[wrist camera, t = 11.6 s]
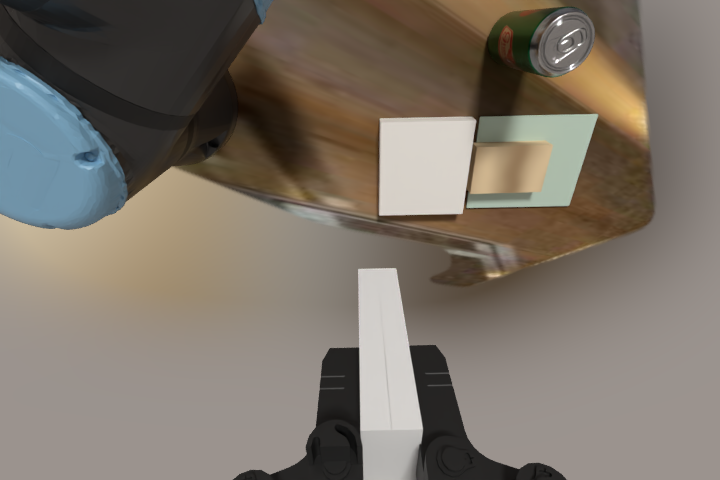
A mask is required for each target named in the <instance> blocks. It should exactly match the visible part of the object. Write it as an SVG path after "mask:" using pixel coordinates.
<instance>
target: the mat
mask: <svg viewBox="0 0 720 480" xmlns="http://www.w3.org/2000/svg"><path fill="white" fill-rule="evenodd" d="M597 117H598V114H575V115H526V116H480V118H479V125H478V131H477V138H476V142H509V141H543V140H546V141H547V142H549V143H551V144H552V145H553V148H552V152H551V156H550V159H549V163H548V167H547V171H546V175H545V179H544V183H543V186H542V190H541V192H523V193H488V194H470V193H469V191H468V197H467V203H466V208H491V207H540V206H569V204H570V201H571V198H572V195H573V192H574V189H575V186H576V183H577V179H578V176H579V173H580V170H581V167H582V164H583V161H584V158H585V154H586V151H587V148H588V145H589V142H590V139H591V136H592V132H593V129H594V126H595V123H596V120H597Z"/></svg>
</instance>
